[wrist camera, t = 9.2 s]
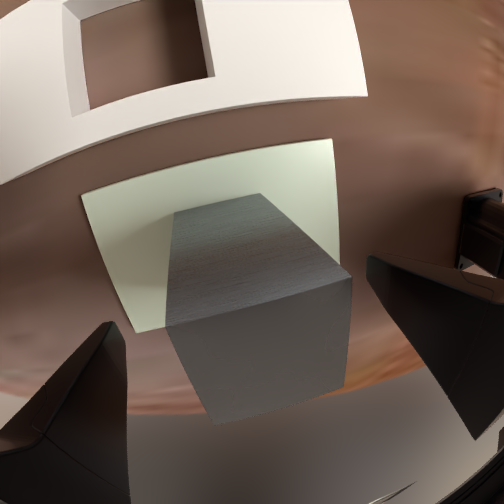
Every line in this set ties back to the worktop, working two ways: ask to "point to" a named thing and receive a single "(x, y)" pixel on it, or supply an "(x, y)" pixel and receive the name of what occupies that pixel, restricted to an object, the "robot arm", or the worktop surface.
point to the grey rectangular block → (254, 309)
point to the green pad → (198, 194)
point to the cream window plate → (171, 97)
